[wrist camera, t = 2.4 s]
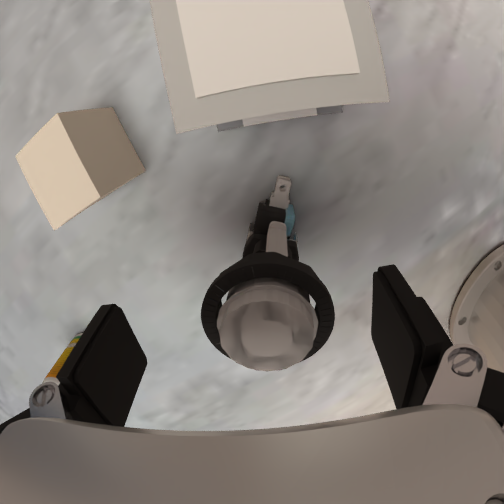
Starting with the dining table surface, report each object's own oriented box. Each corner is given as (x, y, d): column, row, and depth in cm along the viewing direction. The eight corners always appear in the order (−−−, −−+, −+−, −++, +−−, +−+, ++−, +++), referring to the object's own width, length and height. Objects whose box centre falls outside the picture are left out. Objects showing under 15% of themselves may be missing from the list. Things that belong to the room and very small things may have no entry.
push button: (242, 166, 18) (208, 225, 9) (327, 184, 19) (373, 260, 10) (224, 261, 21) (191, 371, 12) (300, 277, 21) (312, 391, 12)
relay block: (112, 107, 17) (57, 113, 12) (146, 170, 19) (100, 196, 14) (72, 139, 18) (15, 156, 13) (103, 197, 20) (54, 230, 15)
